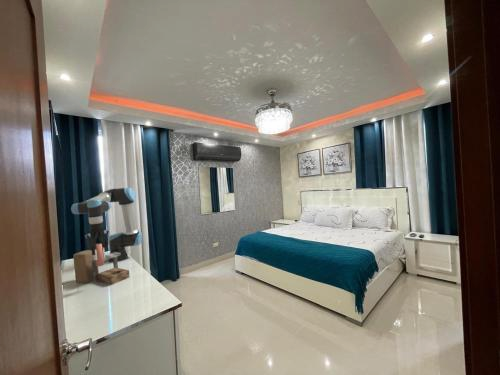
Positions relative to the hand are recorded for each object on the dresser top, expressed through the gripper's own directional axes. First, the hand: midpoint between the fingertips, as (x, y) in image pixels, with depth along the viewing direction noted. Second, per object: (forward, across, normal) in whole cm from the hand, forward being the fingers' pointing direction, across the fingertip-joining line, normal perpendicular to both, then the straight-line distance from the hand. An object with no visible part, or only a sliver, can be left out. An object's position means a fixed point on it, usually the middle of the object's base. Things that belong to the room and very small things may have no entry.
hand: (99, 258), depth 145 cm
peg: (+5, 0, 0) cm, 5 cm away
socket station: (+18, -9, -4) cm, 21 cm away
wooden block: (+18, -1, -21) cm, 28 cm away
